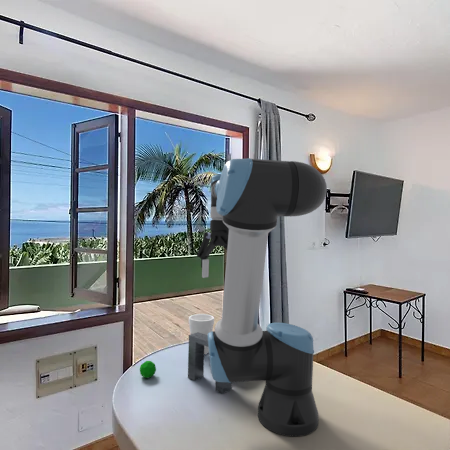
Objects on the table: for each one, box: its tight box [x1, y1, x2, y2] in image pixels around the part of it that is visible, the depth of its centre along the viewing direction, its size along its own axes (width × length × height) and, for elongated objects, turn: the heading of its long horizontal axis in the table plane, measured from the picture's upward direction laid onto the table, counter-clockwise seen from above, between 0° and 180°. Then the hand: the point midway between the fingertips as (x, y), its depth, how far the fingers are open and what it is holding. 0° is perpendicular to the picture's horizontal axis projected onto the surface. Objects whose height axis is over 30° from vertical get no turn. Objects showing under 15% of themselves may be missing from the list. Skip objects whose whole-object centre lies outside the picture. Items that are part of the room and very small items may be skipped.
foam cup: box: [188, 313, 215, 355], centre depth 129 cm, size 10×9×13 cm
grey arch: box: [187, 332, 233, 395], centre depth 104 cm, size 14×4×14 cm, turn 50°
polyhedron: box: [139, 360, 157, 379], centre depth 107 cm, size 5×5×5 cm
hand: (219, 279), depth 120 cm, fingers open, 13 cm apart
